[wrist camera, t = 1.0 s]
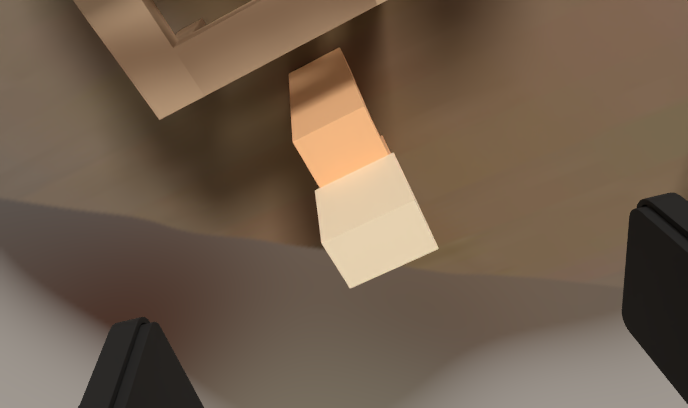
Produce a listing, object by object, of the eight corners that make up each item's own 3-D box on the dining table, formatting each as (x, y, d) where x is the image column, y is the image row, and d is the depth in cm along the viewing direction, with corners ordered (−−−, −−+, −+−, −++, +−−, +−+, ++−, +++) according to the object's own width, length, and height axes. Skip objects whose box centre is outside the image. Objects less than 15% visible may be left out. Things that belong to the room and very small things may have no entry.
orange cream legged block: (394, 150, 41) (459, 292, 26) (340, 176, 41) (375, 329, 27) (343, 45, 36) (388, 144, 21) (284, 75, 37) (289, 192, 22)
